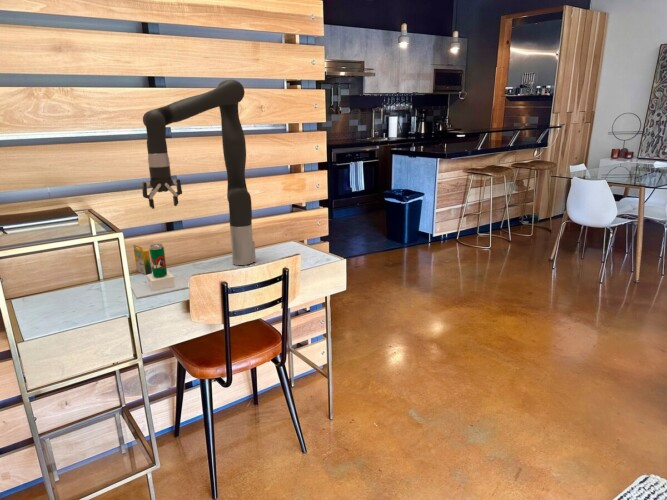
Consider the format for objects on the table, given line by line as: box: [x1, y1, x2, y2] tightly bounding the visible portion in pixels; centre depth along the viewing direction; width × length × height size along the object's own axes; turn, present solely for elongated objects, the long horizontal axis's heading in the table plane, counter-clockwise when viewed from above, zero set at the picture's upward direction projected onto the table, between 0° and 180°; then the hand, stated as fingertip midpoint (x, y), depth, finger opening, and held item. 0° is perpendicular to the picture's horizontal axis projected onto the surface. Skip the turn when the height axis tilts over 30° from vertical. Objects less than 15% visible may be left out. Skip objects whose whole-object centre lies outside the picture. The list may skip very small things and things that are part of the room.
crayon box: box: [132, 244, 153, 276], centre depth 191 cm, size 7×3×12 cm, turn 50°
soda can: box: [149, 243, 168, 278], centre depth 173 cm, size 5×5×12 cm
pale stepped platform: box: [131, 270, 189, 300], centre depth 175 cm, size 20×14×5 cm
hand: (164, 207), depth 181 cm, fingers open, 8 cm apart
